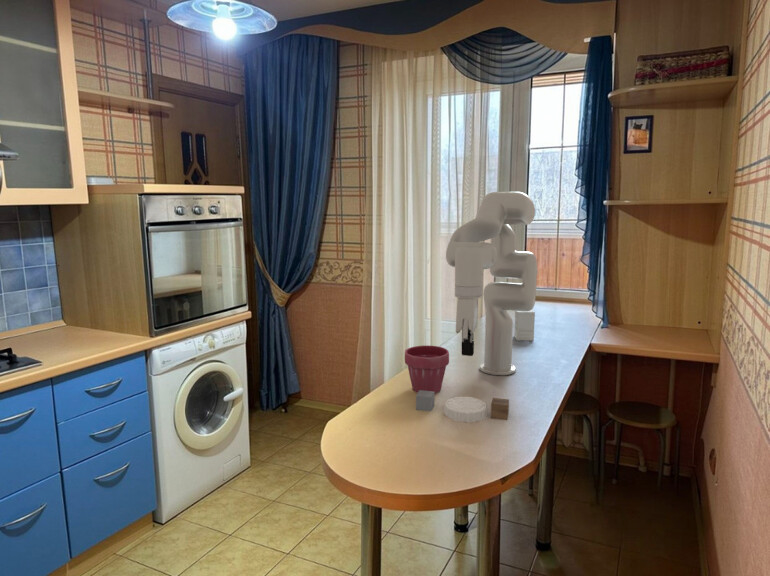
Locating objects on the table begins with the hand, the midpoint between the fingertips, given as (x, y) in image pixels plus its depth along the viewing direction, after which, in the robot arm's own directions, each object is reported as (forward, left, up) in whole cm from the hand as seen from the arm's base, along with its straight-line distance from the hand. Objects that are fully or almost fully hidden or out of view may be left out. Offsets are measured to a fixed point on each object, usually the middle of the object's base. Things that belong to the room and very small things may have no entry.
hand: (467, 354), depth 153 cm
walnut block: (0, +9, -17) cm, 20 cm away
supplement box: (-88, +12, -18) cm, 90 cm away
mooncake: (+1, 0, -18) cm, 18 cm away
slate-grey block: (0, -12, -17) cm, 21 cm away
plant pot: (-15, -15, -18) cm, 28 cm away
